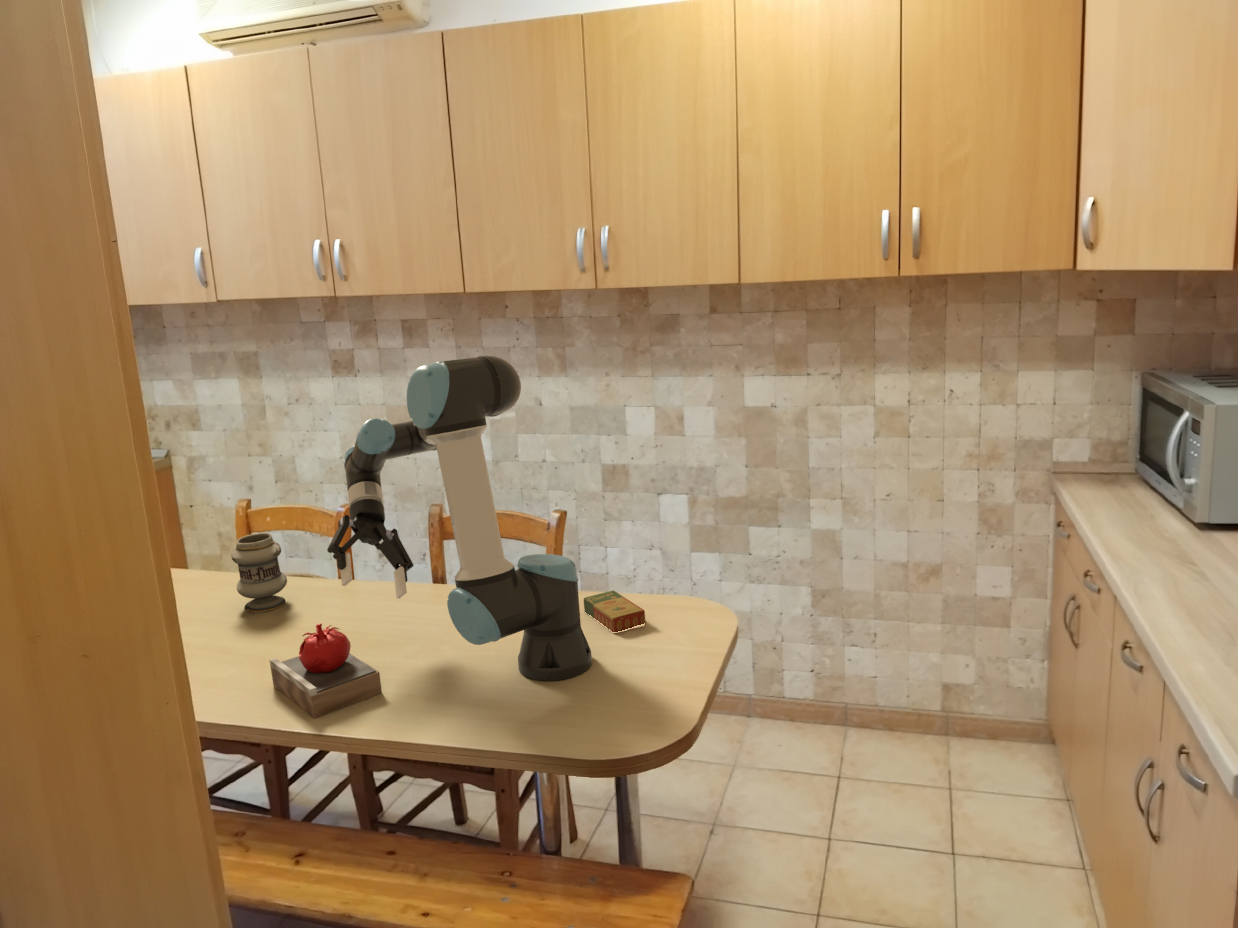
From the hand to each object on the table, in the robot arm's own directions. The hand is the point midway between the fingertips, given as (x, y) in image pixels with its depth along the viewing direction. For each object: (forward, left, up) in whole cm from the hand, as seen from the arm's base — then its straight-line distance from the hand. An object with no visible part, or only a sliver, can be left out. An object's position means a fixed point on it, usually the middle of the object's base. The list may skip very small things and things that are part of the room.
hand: (375, 589), depth 199 cm
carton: (-21, -47, -17) cm, 54 cm away
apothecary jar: (+55, +5, -16) cm, 57 cm away
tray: (-4, +15, -16) cm, 22 cm away
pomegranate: (-4, +14, -11) cm, 19 cm away
